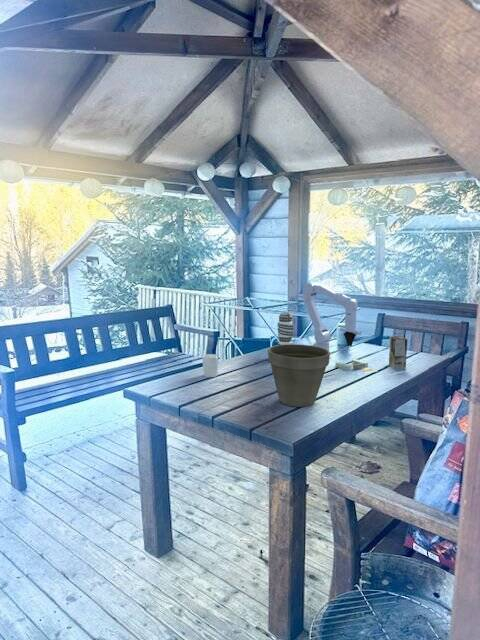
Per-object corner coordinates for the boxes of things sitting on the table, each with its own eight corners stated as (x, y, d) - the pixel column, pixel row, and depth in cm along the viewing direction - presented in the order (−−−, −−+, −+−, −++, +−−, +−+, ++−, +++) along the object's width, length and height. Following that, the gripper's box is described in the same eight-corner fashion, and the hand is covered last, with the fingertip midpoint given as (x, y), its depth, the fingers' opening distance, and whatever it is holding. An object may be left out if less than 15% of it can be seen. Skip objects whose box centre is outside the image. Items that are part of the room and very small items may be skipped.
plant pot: (339, 400, 189) (341, 349, 186) (306, 417, 171) (307, 360, 168) (290, 388, 206) (291, 341, 202) (255, 402, 188) (255, 350, 184)
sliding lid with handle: (350, 371, 235) (351, 365, 235) (364, 368, 240) (365, 362, 240) (363, 375, 228) (364, 369, 227) (378, 372, 233) (378, 366, 232)
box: (335, 367, 242) (335, 362, 241) (355, 363, 249) (355, 359, 249) (347, 371, 234) (347, 366, 234) (367, 367, 242) (368, 362, 241)
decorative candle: (274, 354, 271) (274, 312, 267) (287, 353, 274) (288, 311, 270) (282, 357, 262) (282, 314, 258) (295, 356, 266) (296, 313, 262)
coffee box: (406, 370, 236) (407, 339, 234) (393, 369, 236) (395, 339, 234) (400, 365, 245) (402, 336, 243) (388, 365, 245) (389, 335, 243)
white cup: (221, 374, 229) (221, 355, 227) (213, 378, 221) (213, 358, 220) (207, 372, 232) (207, 353, 230) (199, 376, 225) (199, 356, 223)
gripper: (335, 320, 252) (335, 344, 254) (354, 323, 240) (353, 349, 242) (345, 319, 256) (344, 342, 258) (364, 322, 243) (363, 347, 245)
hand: (349, 345), depth 250 cm, fingers closed
